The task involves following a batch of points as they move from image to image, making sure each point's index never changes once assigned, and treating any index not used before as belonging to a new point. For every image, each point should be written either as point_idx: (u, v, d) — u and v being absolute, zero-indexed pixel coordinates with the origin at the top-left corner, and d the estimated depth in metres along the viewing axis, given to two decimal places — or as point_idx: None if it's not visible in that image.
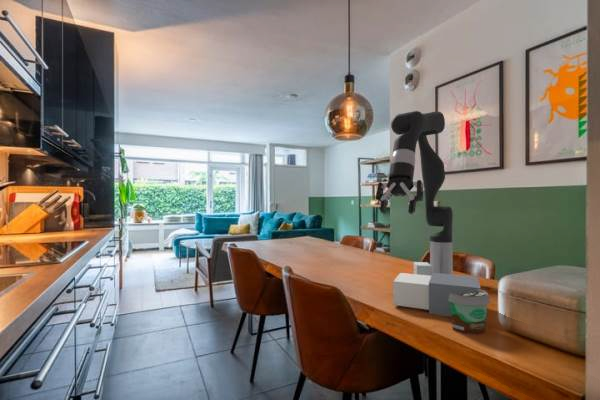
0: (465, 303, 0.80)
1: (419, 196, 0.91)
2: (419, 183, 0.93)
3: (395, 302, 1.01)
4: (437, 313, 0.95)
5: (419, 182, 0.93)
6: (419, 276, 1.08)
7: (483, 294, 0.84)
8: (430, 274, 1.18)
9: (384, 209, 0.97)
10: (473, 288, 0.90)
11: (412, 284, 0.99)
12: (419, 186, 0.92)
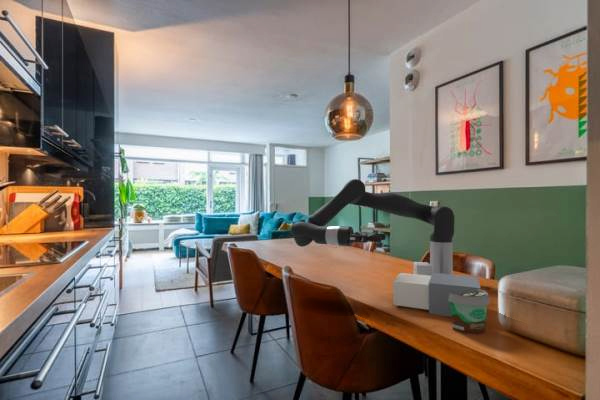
0: (465, 303, 0.80)
1: None
2: (353, 241, 1.09)
3: (395, 302, 1.01)
4: (437, 313, 0.95)
5: (352, 241, 1.09)
6: (419, 276, 1.08)
7: (483, 294, 0.84)
8: (430, 274, 1.18)
9: (382, 237, 1.14)
10: (473, 288, 0.90)
11: (412, 284, 0.99)
12: None
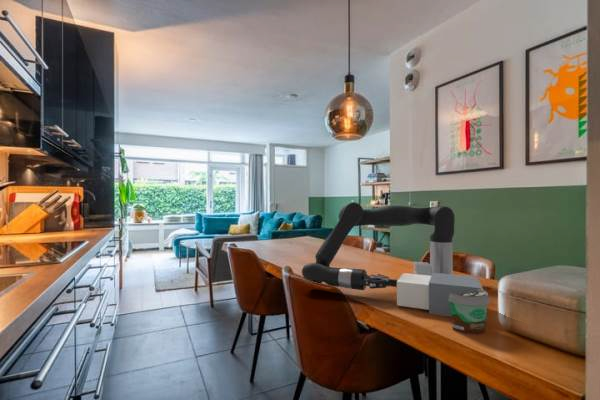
0: (465, 303, 0.80)
1: (384, 287, 1.07)
2: None
3: (398, 302, 1.01)
4: (437, 313, 0.95)
5: None
6: (422, 276, 1.08)
7: (483, 294, 0.84)
8: (430, 274, 1.18)
9: (396, 284, 1.08)
10: (473, 288, 0.90)
11: (416, 284, 0.98)
12: None
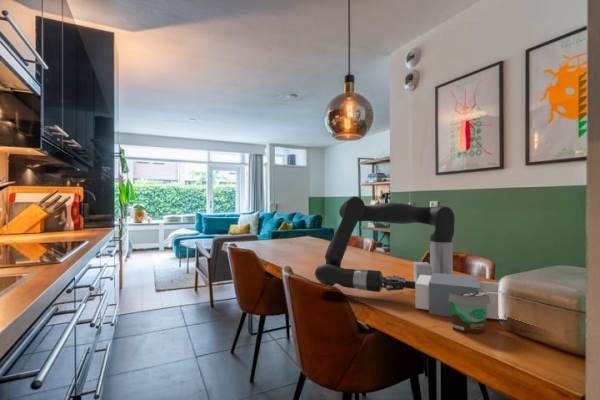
0: (465, 303, 0.80)
1: None
2: None
3: (417, 305, 0.98)
4: (437, 313, 0.95)
5: None
6: None
7: (483, 294, 0.84)
8: (430, 274, 1.18)
9: None
10: (473, 288, 0.90)
11: None
12: None
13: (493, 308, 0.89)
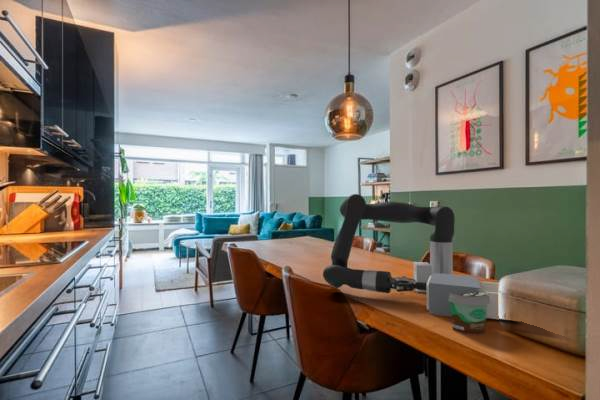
0: (465, 303, 0.80)
1: (411, 290, 1.03)
2: None
3: (428, 307, 0.97)
4: (437, 313, 0.95)
5: None
6: None
7: (483, 294, 0.84)
8: (430, 274, 1.18)
9: None
10: (473, 288, 0.90)
11: None
12: None
13: None
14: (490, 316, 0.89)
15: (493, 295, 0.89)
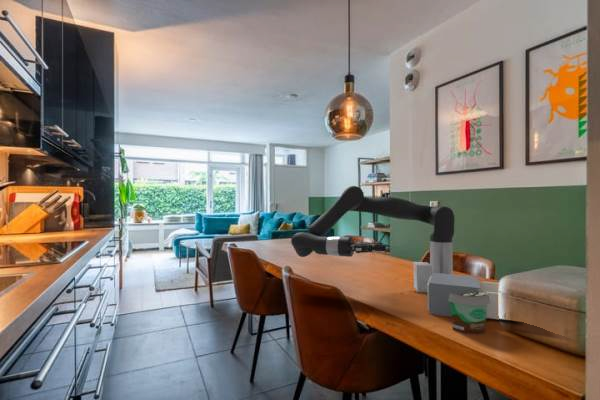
0: (465, 303, 0.80)
1: None
2: (359, 252, 1.09)
3: None
4: (437, 313, 0.95)
5: None
6: None
7: (483, 294, 0.84)
8: (430, 274, 1.18)
9: None
10: (473, 288, 0.90)
11: None
12: None
13: None
14: (491, 316, 0.89)
15: (494, 295, 0.89)
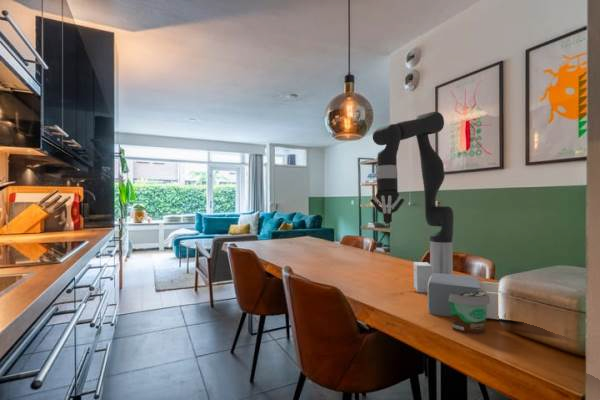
0: (465, 303, 0.80)
1: (394, 210, 1.14)
2: (401, 201, 1.13)
3: None
4: (437, 313, 0.95)
5: (401, 201, 1.13)
6: None
7: (483, 294, 0.84)
8: (430, 274, 1.18)
9: None
10: (473, 288, 0.90)
11: None
12: (399, 203, 1.13)
13: None
14: (491, 316, 0.89)
15: (494, 295, 0.89)
